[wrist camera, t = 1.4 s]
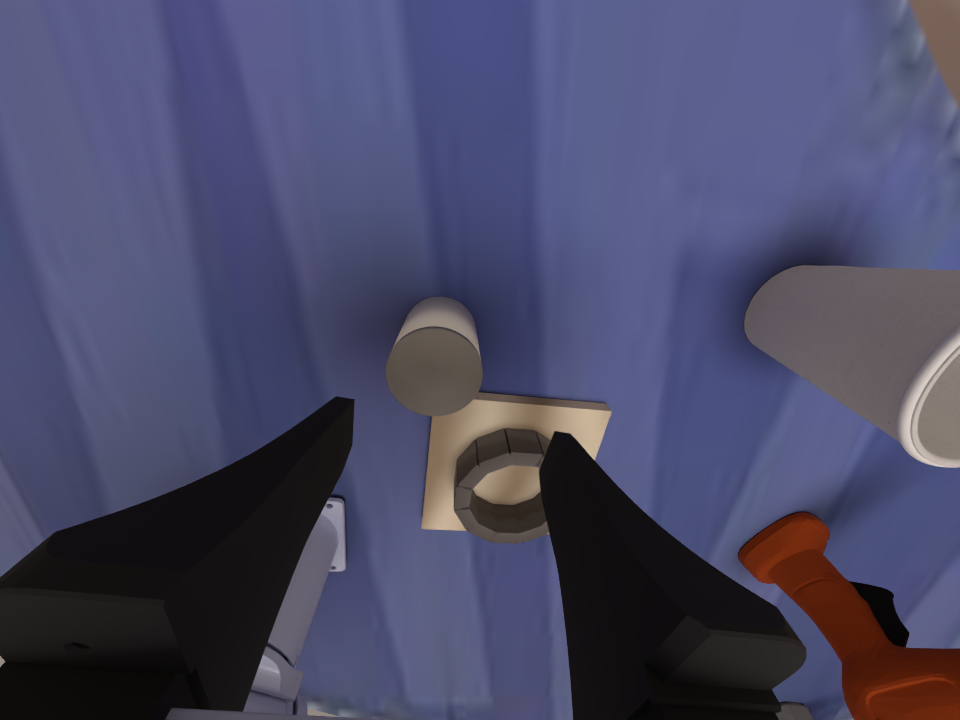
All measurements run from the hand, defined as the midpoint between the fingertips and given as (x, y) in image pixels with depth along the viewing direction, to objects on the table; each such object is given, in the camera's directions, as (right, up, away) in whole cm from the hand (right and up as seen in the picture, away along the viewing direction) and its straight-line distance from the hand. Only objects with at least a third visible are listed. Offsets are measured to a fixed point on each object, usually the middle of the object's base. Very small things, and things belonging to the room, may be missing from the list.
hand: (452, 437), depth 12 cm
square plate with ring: (+3, -5, +13) cm, 15 cm away
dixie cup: (+21, +6, +10) cm, 24 cm away
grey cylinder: (-1, +5, +9) cm, 10 cm away
